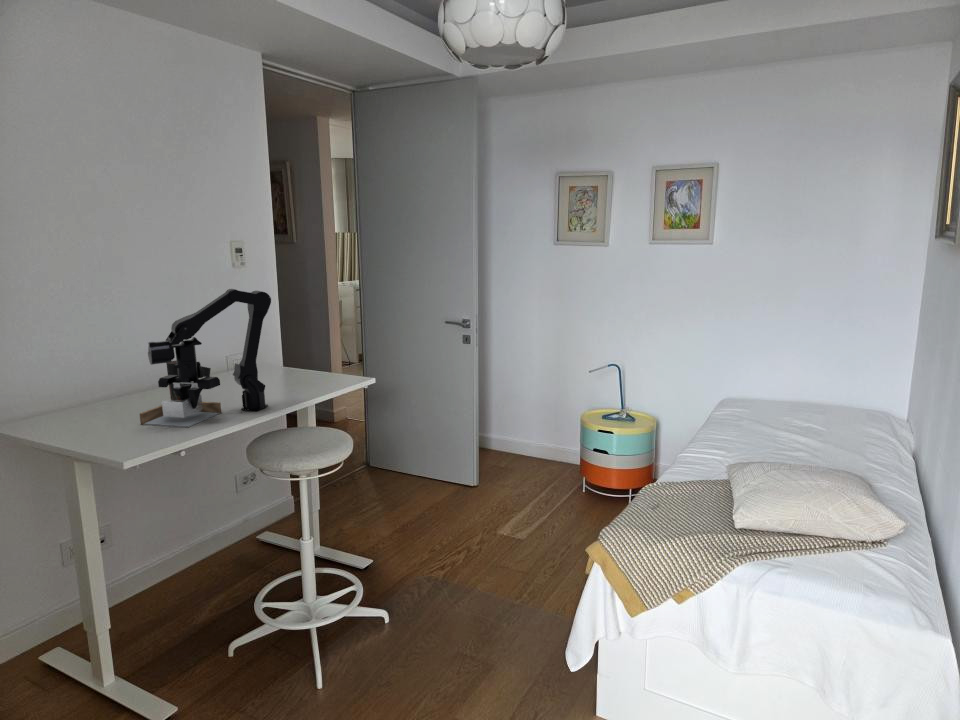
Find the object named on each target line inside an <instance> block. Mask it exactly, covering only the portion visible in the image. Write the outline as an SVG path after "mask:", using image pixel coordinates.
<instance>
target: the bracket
mask: <svg viewBox="0 0 960 720" xmlns="http://www.w3.org/2000/svg"><path fill="white" fill-rule="evenodd" d="M202 402H203V399H202V394H200V396H199V399H198V403H197V407H196V408H195V409H193V408H192V405H191V401H190V398H187V399H184V400H182V401H177V400H171V399H162V400H161V405H162V409H163V417H180V418H185V417H187V416H189V415H192V414H194V413H196V412H199V411H201V410H203V406H202Z"/></svg>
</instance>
